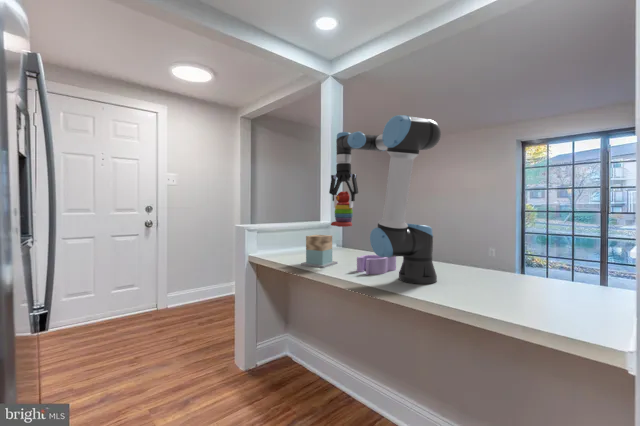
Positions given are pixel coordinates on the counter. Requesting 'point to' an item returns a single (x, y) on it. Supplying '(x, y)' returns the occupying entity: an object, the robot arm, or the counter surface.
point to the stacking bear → (343, 211)
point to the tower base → (319, 258)
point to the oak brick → (319, 242)
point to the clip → (375, 264)
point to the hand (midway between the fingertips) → (343, 207)
